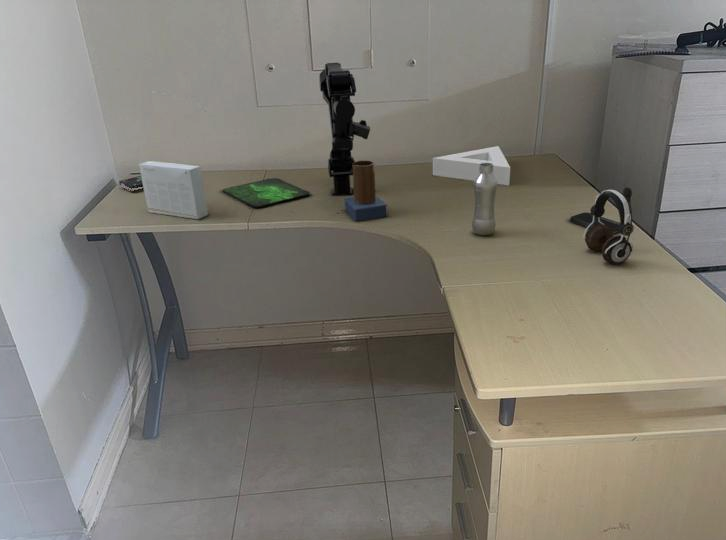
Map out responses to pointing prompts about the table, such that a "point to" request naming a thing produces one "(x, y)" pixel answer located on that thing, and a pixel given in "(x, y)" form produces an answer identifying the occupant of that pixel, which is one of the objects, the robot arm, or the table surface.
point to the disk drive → (133, 183)
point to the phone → (587, 219)
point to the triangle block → (473, 165)
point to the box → (365, 209)
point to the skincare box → (174, 189)
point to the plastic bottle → (484, 200)
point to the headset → (602, 235)
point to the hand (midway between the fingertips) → (345, 165)
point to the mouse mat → (265, 192)
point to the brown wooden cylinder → (364, 182)
